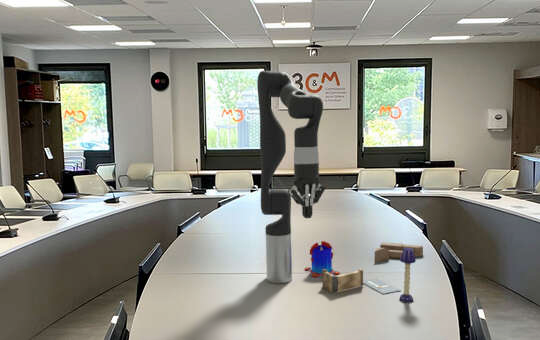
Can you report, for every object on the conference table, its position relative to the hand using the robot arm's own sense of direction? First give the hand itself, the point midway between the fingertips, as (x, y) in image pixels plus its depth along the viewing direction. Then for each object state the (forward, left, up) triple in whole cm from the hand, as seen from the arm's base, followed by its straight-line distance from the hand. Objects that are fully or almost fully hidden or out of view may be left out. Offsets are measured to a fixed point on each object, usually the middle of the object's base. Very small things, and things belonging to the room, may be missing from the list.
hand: (307, 217), depth 148 cm
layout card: (-4, +29, -28) cm, 41 cm away
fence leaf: (-6, +18, -27) cm, 33 cm away
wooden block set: (-29, +56, -28) cm, 69 cm away
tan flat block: (-9, +12, -28) cm, 32 cm away
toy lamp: (+10, +30, -28) cm, 42 cm away
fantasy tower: (-27, +19, -28) cm, 44 cm away
